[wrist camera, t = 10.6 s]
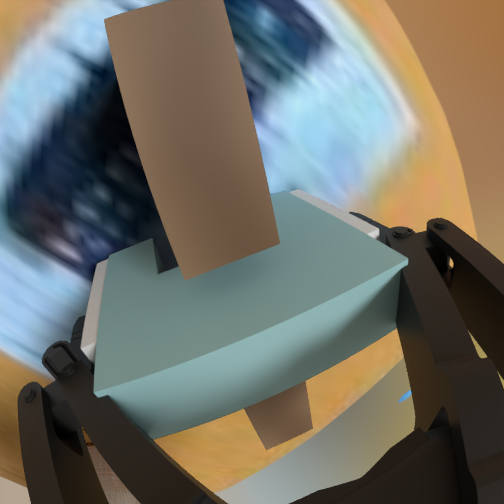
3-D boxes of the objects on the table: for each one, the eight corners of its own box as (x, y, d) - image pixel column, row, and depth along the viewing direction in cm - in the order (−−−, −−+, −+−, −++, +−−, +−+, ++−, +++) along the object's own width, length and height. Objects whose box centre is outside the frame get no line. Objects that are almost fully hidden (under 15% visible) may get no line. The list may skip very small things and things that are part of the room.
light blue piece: (132, 300, 16) (144, 441, 8) (109, 255, 14) (93, 392, 6) (293, 238, 18) (400, 325, 10) (285, 190, 16) (408, 258, 8)
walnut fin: (226, 362, 21) (266, 450, 14) (122, 72, 11) (103, 19, 5) (262, 347, 22) (312, 428, 15) (180, 55, 12) (220, -8, 5)
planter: (162, 479, 27) (181, 545, 19) (78, 479, 22) (86, 545, 14) (157, 439, 23) (180, 527, 15) (51, 436, 19) (52, 523, 10)
